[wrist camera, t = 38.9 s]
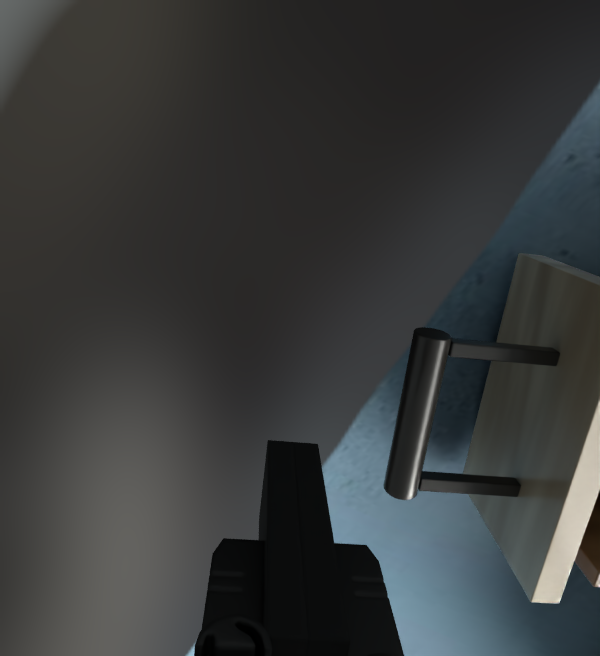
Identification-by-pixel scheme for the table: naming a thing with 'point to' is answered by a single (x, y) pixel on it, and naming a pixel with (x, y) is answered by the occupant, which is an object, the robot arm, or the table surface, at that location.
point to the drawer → (521, 426)
